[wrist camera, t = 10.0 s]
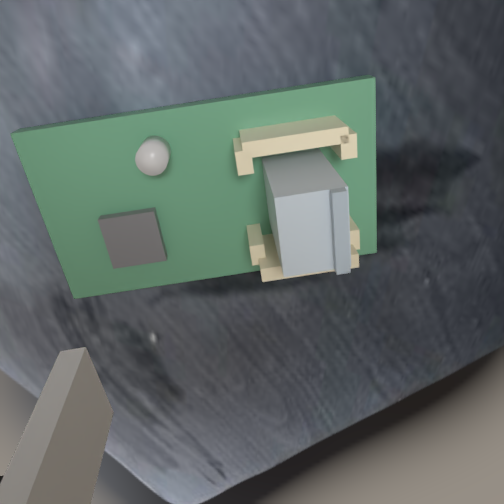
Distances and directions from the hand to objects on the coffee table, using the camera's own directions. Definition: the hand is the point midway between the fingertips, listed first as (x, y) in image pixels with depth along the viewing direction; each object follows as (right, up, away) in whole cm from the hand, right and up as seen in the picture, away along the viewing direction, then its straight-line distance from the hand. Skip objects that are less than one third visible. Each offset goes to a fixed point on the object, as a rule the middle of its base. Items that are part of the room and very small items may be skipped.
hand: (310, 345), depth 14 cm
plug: (+1, +8, +19) cm, 20 cm away
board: (-5, +7, +20) cm, 22 cm away
